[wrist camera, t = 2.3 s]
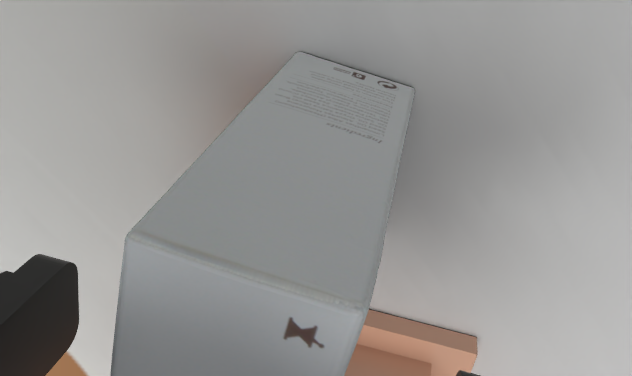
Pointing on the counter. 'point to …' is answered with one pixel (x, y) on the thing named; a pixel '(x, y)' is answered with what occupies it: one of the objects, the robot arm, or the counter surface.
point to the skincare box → (268, 234)
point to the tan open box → (409, 349)
